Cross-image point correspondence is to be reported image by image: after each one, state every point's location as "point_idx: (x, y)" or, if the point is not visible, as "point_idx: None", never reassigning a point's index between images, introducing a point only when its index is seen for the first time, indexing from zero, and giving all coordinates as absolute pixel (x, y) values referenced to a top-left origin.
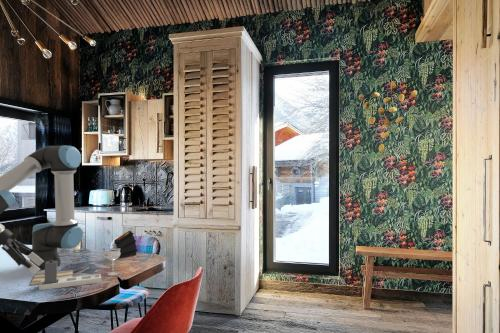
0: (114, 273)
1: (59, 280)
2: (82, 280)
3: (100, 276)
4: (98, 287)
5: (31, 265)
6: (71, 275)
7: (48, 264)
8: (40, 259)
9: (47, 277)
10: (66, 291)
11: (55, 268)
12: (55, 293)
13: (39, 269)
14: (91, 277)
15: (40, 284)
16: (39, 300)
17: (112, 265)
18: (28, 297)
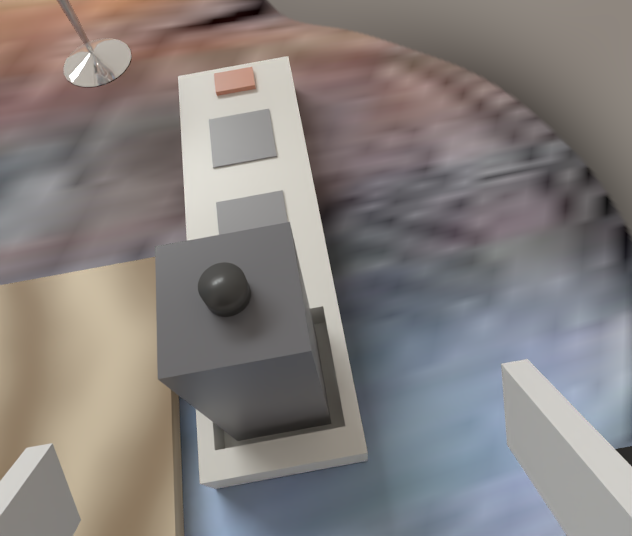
0: (112, 48)
1: None
2: (305, 150)
3: (249, 65)
4: (373, 86)
5: (627, 451)
6: (55, 280)
7: (303, 313)
8: (28, 489)
9: (320, 373)
10: (415, 246)
11: (299, 267)
12: (449, 310)
13: (530, 365)
14: (254, 109)
15: (337, 448)
16: (607, 384)
17: (68, 12)
18: (522, 506)
